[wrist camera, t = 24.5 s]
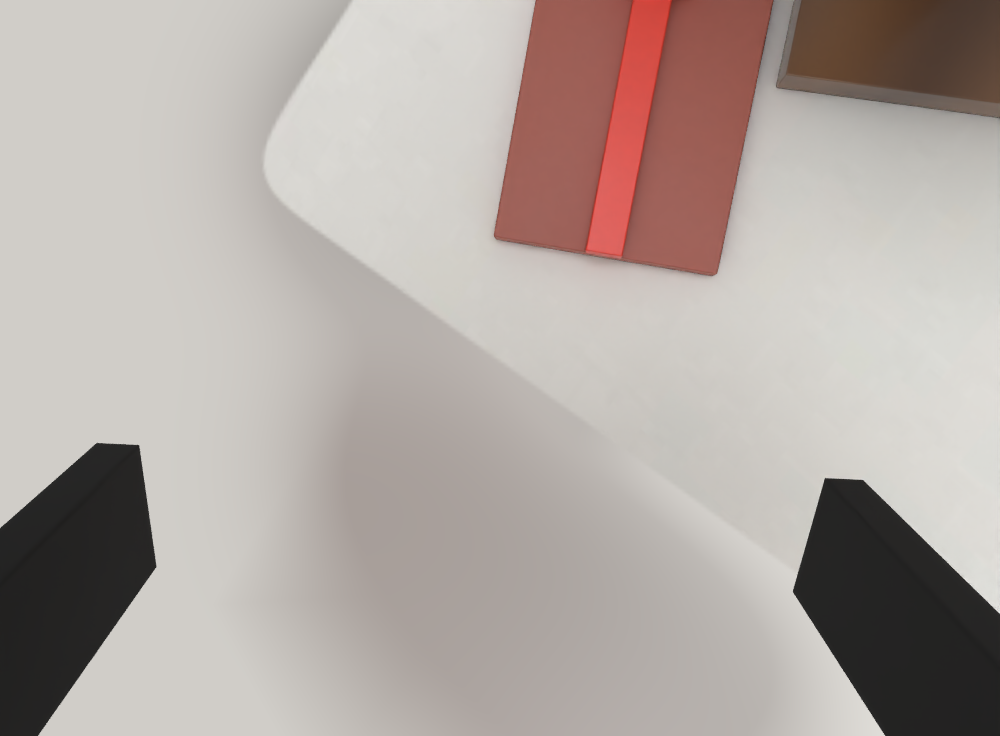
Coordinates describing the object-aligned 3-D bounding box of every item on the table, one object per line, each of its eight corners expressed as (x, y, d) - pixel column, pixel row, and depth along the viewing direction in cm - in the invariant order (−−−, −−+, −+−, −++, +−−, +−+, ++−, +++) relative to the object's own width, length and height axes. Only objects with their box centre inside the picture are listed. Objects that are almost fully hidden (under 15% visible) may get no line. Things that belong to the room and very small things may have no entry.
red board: (496, 239, 31) (493, 236, 30) (576, -210, 30) (576, -229, 29) (712, 276, 30) (717, 274, 29) (808, -190, 28) (816, -208, 27)
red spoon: (547, 246, 30) (545, 240, 28) (616, -125, 29) (618, -158, 27) (659, 265, 29) (665, 260, 27) (734, -113, 28) (745, -146, 26)
